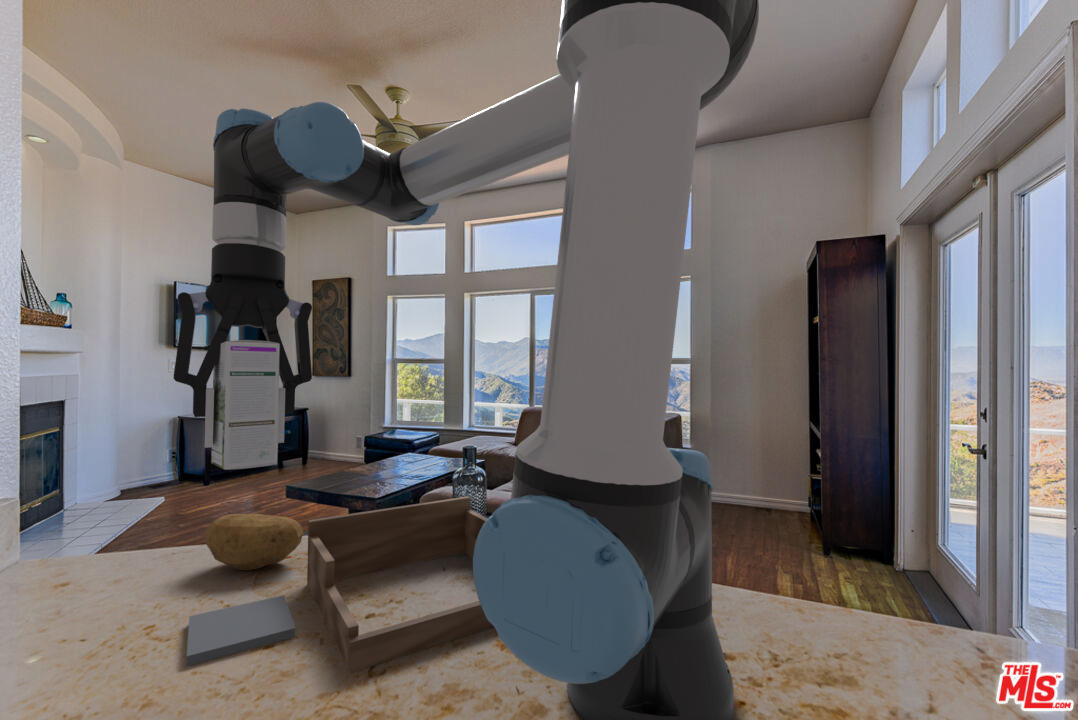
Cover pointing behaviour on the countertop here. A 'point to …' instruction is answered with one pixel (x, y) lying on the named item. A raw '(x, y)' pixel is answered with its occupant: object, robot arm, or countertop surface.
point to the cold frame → (385, 545)
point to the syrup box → (246, 405)
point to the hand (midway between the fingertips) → (245, 443)
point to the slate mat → (238, 629)
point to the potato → (252, 539)
